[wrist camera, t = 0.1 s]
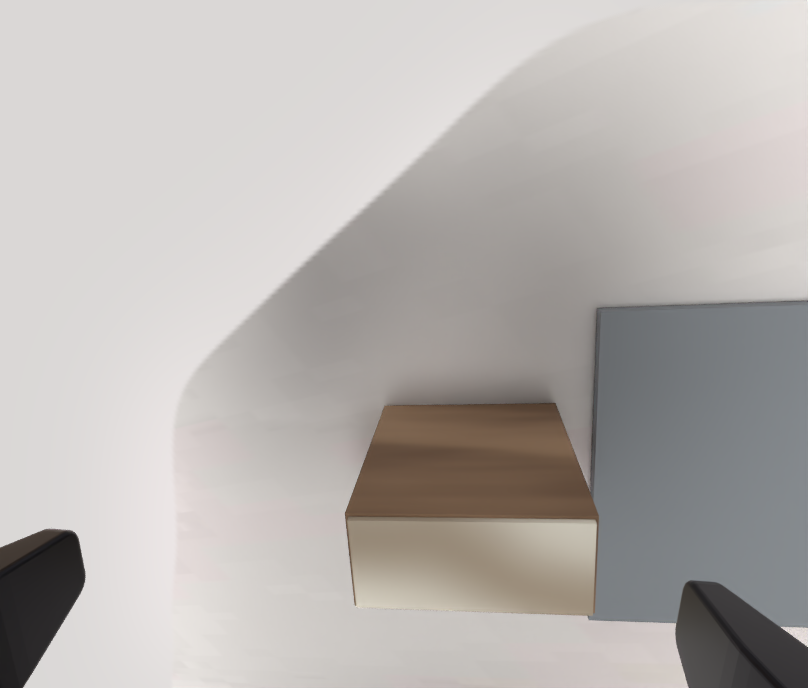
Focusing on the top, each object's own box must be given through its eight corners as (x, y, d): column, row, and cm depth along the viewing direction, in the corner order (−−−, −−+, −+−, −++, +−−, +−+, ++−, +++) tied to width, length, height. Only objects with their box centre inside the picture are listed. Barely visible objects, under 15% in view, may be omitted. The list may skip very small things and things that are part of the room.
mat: (852, 618, 23) (861, 629, 23) (585, 609, 25) (588, 619, 24) (918, 296, 19) (931, 300, 19) (597, 308, 21) (601, 311, 20)
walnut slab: (554, 473, 23) (596, 618, 15) (390, 472, 24) (353, 610, 16) (555, 403, 22) (601, 520, 14) (384, 405, 23) (343, 517, 15)
